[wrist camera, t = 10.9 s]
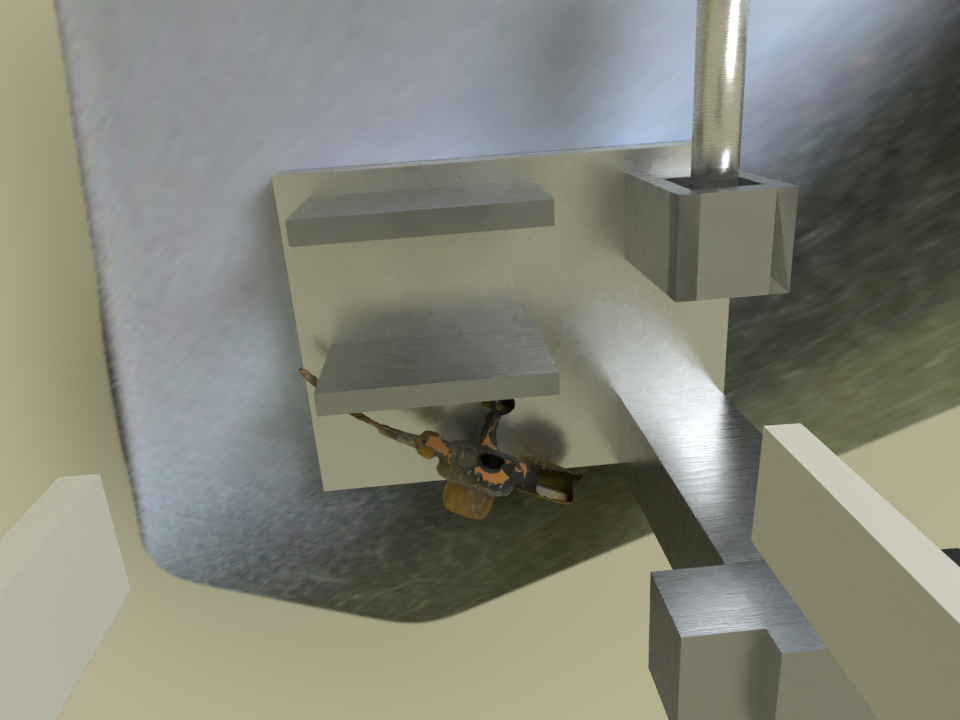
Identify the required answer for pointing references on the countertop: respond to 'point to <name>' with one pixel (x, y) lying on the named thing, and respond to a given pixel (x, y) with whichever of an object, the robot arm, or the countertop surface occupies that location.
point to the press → (570, 369)
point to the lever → (718, 92)
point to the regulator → (482, 464)
